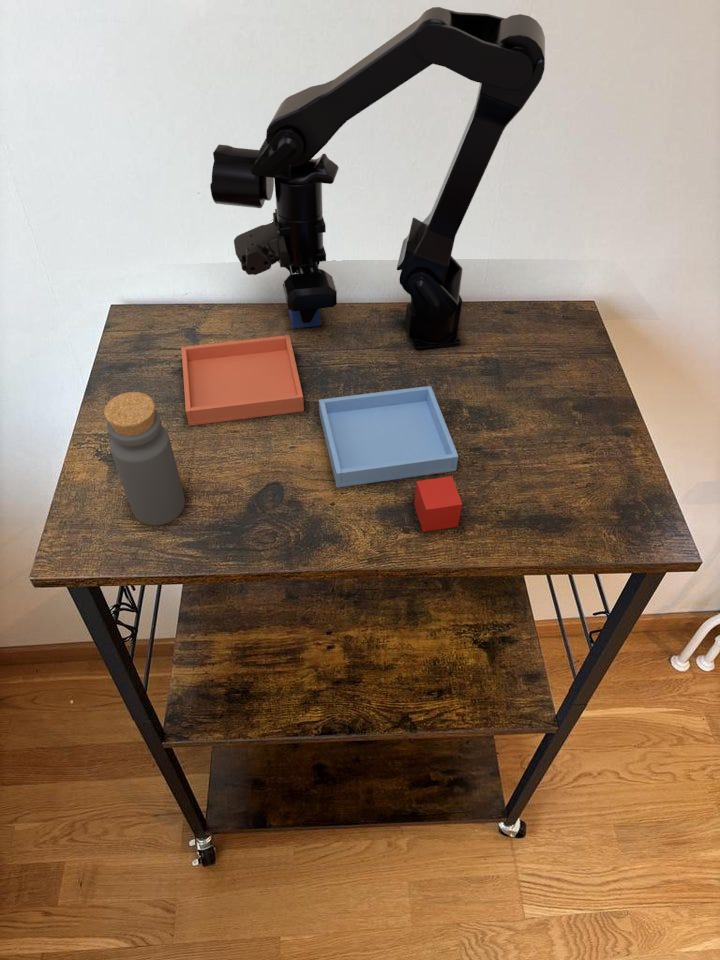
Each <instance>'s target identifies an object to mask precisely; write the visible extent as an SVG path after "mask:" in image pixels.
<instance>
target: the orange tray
mask: <svg viewBox="0 0 720 960" xmlns="http://www.w3.org/2000/svg"><path fill="white" fill-rule="evenodd" d="M181 362H182V374H183V376H182V377H183V391H184V406H185V413H186V419H187V422H188V426H189V427H191V426H198V425H206V424H214V423H223V422H229V421H237V420H239V421H240V420H245V419H253V418H263V417H270V416H277V415H278V416H279V415H285V414H286V415H287V414H294V413H301V412H302V413H303V412H305V405H304V404H305V403H304V395H303V389H302V385H301V380H300V376H299V371H298V366H297V363H296V362H297V361H296V358H295V353H294V349H293V344H292V340H291V336H290V334H287V335H286V334H285V335H277V336H269V337H260V338H258V337H257V338H250V339H240V340H231V341H223V342H213V343H206V344H205V343H204V344H197V345H187V346H181Z"/></svg>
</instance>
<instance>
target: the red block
mask: <svg viewBox="0 0 720 960" xmlns="http://www.w3.org/2000/svg"><path fill="white" fill-rule="evenodd" d="M460 496H461V495H460V494H459V491H458V488H457V485H456V482H455V480H454V477H453V475H451V476H443V477H442V476H441V477H436V478H430V479H422V480H417V481H416V483H415V493H414V501H413V506H414V509H415V511H416V515H417V518H418V522H419V525H420V528H421V530H422V533H426V532H432V531H439V530H445V529H453V528H458V527H459V522H460V519H461V514H462V508H463V501H462V499H461V497H460Z"/></svg>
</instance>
